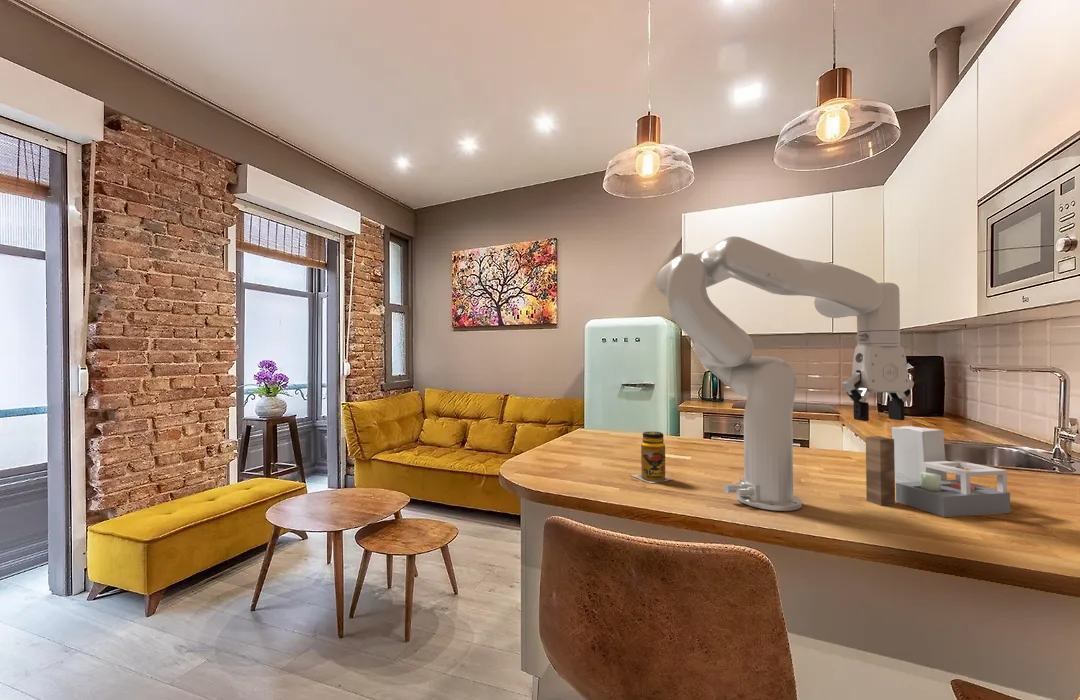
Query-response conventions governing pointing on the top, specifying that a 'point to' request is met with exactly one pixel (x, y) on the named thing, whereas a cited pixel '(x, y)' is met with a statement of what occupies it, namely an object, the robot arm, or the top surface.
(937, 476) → the on button
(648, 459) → the condiment
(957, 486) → the plunger
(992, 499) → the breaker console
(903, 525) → the top surface
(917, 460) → the skincare box
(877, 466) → the wooden block
